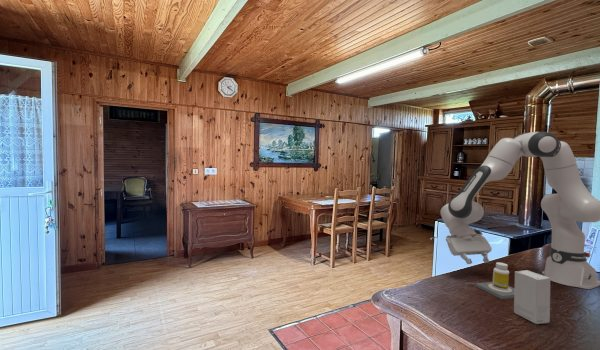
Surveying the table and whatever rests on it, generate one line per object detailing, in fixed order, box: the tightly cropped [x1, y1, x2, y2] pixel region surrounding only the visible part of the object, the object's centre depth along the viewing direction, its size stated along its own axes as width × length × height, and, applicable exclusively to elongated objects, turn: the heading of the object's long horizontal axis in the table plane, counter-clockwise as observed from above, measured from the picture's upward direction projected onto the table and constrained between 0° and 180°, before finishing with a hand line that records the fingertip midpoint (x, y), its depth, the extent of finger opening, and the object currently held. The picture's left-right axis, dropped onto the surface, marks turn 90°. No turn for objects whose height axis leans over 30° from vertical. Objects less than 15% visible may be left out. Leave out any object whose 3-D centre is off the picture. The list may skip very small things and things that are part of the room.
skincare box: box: [513, 269, 551, 325], centre depth 101 cm, size 8×6×15 cm
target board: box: [475, 281, 515, 300], centre depth 122 cm, size 12×12×1 cm
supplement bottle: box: [491, 262, 510, 290], centre depth 122 cm, size 5×5×10 cm
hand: (478, 262), depth 132 cm, fingers open, 8 cm apart
